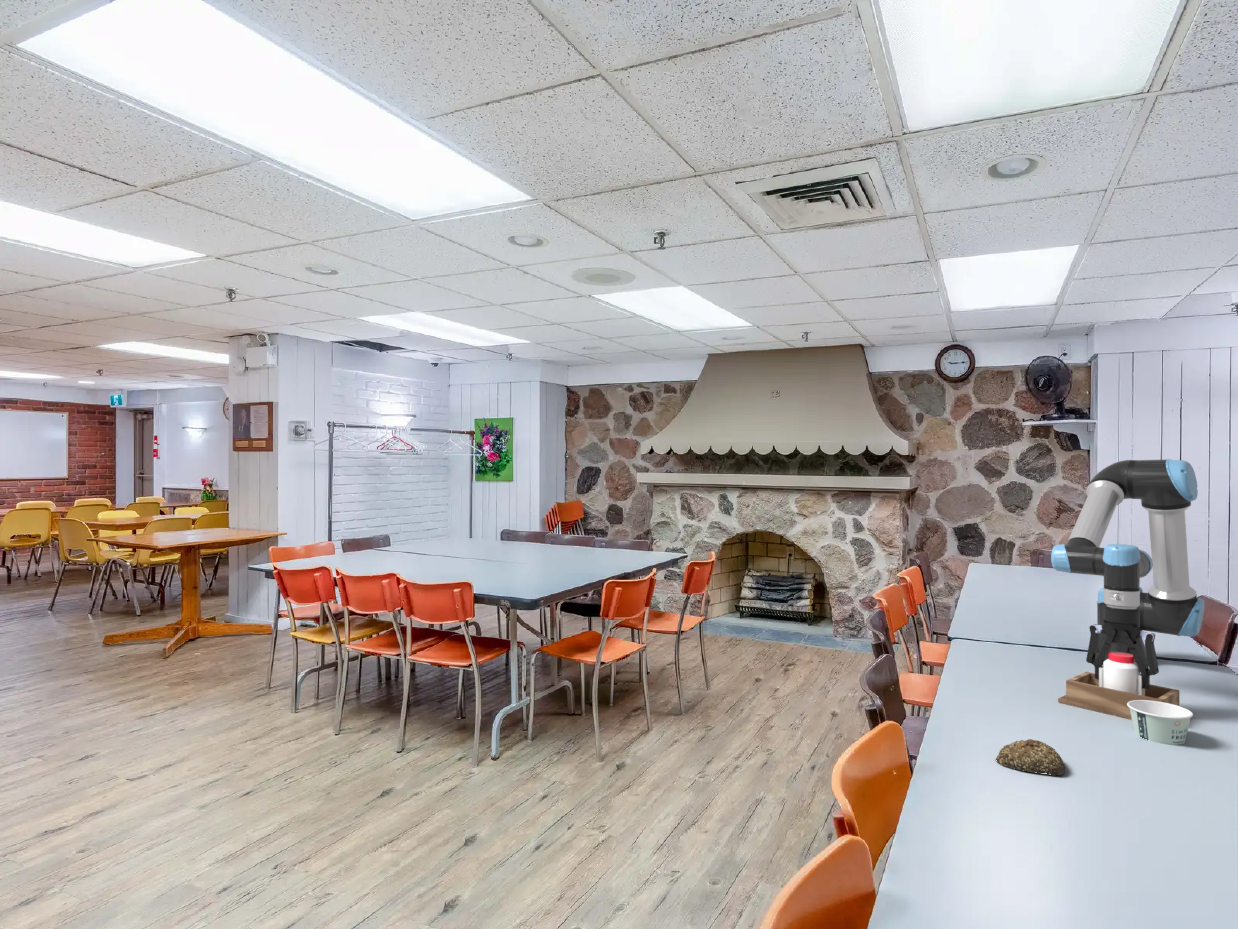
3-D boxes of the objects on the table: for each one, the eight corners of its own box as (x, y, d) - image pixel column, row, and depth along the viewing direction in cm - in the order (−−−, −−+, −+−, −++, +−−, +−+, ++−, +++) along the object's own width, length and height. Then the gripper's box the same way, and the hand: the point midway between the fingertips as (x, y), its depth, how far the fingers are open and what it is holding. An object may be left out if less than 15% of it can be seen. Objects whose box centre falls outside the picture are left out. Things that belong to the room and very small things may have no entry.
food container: (1175, 751, 155) (1175, 720, 155) (1115, 733, 166) (1115, 704, 166) (1204, 741, 161) (1204, 712, 161) (1144, 724, 172) (1144, 697, 172)
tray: (1079, 692, 196) (1079, 670, 196) (1188, 716, 177) (1188, 691, 177) (1058, 702, 187) (1058, 679, 187) (1170, 729, 168) (1170, 703, 168)
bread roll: (1065, 782, 140) (1065, 756, 141) (994, 768, 147) (993, 744, 147) (1065, 759, 151) (1065, 735, 151) (999, 747, 158) (999, 724, 158)
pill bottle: (1146, 703, 178) (1146, 659, 178) (1111, 701, 179) (1111, 657, 179) (1131, 694, 185) (1131, 651, 185) (1097, 692, 187) (1097, 649, 187)
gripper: (1070, 602, 188) (1070, 689, 188) (1166, 614, 172) (1166, 710, 172) (1081, 598, 193) (1081, 684, 193) (1175, 610, 176) (1176, 704, 176)
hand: (1121, 696), depth 182 cm, fingers closed on pill bottle, 8 cm apart
